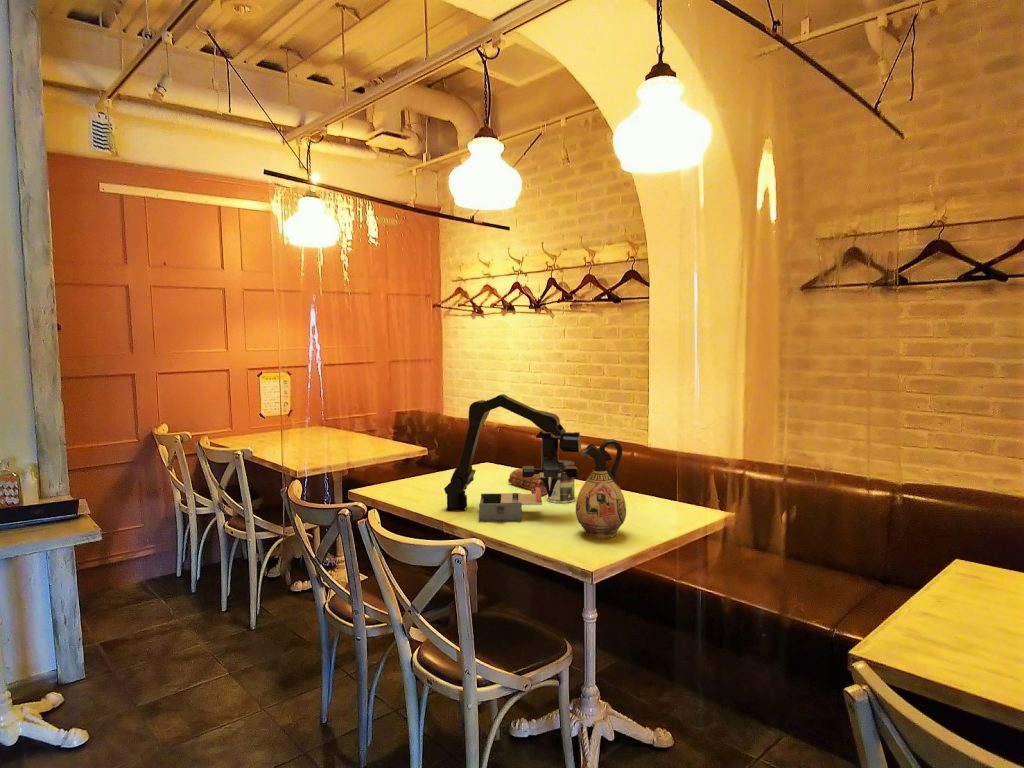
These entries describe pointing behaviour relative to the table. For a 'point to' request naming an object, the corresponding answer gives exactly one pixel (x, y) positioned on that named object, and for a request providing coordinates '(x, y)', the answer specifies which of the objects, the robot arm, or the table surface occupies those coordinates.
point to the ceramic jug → (601, 494)
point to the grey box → (498, 509)
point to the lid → (523, 498)
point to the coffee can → (563, 487)
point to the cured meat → (527, 481)
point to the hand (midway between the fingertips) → (549, 496)
